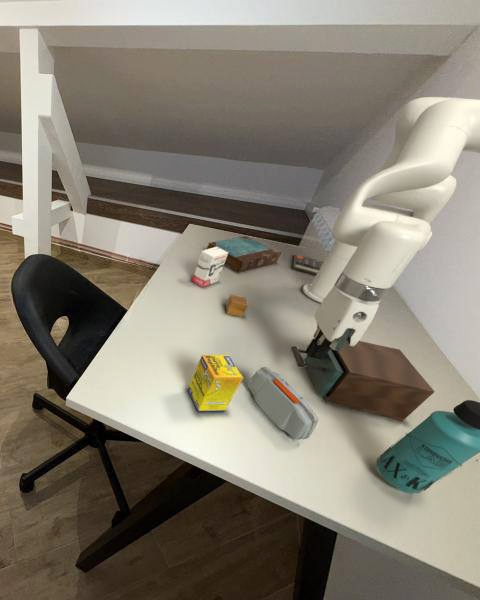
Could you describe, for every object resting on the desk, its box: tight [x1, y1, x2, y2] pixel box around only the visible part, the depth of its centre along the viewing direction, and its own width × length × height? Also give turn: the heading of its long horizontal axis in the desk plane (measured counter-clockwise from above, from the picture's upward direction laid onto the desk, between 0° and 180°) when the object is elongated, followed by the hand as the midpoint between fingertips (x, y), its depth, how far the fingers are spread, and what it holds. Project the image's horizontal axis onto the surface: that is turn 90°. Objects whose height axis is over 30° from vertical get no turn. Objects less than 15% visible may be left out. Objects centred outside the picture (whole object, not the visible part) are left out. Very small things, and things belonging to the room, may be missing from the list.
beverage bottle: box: [375, 399, 480, 495], centre depth 49 cm, size 6×7×20 cm
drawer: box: [290, 345, 346, 397], centre depth 70 cm, size 19×11×8 cm, turn 74°
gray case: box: [247, 366, 320, 441], centre depth 62 cm, size 14×3×8 cm, turn 17°
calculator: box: [292, 254, 324, 276], centre depth 126 cm, size 12×1×15 cm
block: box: [225, 293, 248, 318], centre depth 94 cm, size 4×4×4 cm
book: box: [206, 235, 282, 273], centre depth 127 cm, size 23×18×5 cm
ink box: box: [191, 247, 228, 288], centre depth 106 cm, size 8×5×12 cm, turn 123°
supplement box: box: [187, 354, 244, 414], centre depth 63 cm, size 6×6×11 cm
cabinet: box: [322, 340, 435, 422], centre depth 69 cm, size 15×13×10 cm
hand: (313, 355), depth 70 cm, fingers closed
